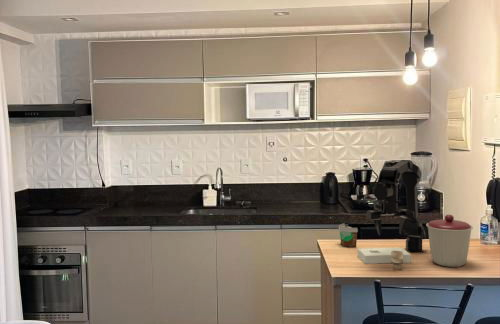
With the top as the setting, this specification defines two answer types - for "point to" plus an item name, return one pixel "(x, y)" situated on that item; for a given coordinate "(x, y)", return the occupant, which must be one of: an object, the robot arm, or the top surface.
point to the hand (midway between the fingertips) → (390, 234)
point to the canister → (449, 241)
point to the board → (381, 255)
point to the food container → (348, 236)
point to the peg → (397, 259)
